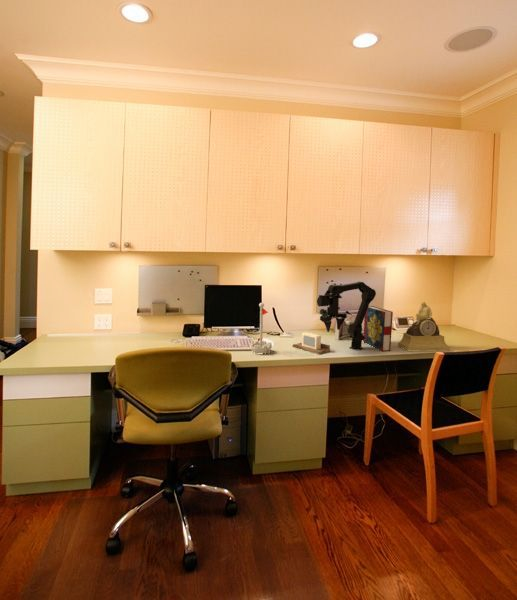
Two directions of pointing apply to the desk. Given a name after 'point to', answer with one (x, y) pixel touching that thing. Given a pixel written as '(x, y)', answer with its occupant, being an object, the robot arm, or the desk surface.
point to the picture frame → (311, 340)
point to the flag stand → (261, 346)
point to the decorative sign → (342, 330)
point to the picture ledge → (323, 349)
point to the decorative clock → (423, 333)
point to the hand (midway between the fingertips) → (333, 330)
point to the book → (378, 328)
